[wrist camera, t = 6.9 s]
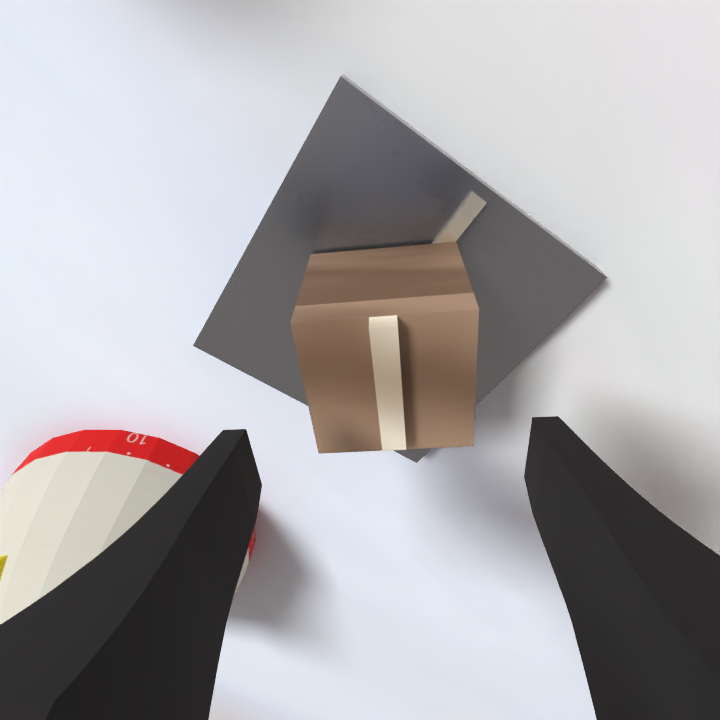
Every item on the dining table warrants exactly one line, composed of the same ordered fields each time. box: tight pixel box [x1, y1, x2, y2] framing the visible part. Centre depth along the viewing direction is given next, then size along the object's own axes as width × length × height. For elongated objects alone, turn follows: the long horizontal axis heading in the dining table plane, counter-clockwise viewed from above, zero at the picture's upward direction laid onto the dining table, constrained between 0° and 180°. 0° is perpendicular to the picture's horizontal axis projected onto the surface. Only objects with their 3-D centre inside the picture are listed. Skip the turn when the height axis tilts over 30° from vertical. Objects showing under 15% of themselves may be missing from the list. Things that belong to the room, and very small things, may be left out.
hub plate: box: [193, 75, 607, 463], centre depth 19 cm, size 12×12×4 cm
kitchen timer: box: [0, 430, 255, 624], centre depth 23 cm, size 14×14×15 cm
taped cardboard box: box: [290, 242, 479, 453], centre depth 17 cm, size 5×5×6 cm
